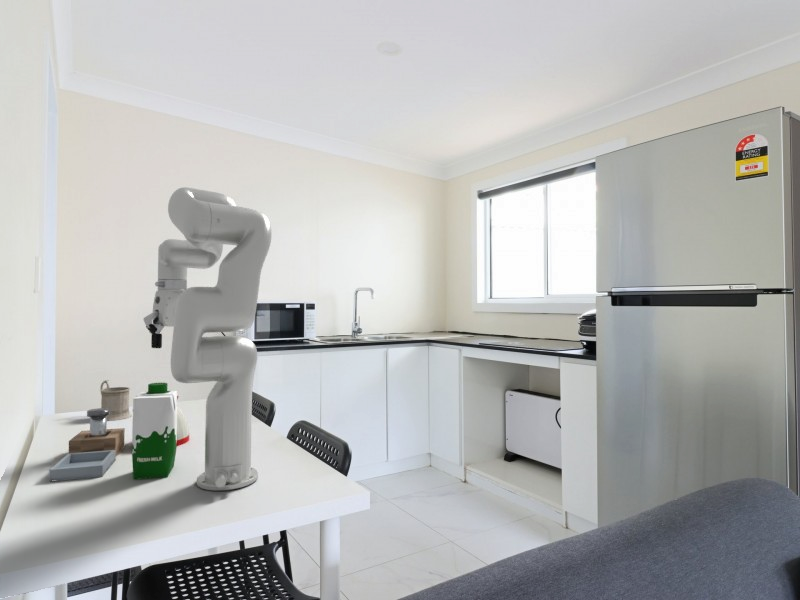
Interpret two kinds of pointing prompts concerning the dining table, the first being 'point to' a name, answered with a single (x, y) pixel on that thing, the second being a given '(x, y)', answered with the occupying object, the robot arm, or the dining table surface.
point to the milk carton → (154, 432)
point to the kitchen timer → (181, 428)
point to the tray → (83, 465)
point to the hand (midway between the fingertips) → (171, 346)
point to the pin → (98, 421)
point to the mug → (115, 402)
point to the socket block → (98, 441)
